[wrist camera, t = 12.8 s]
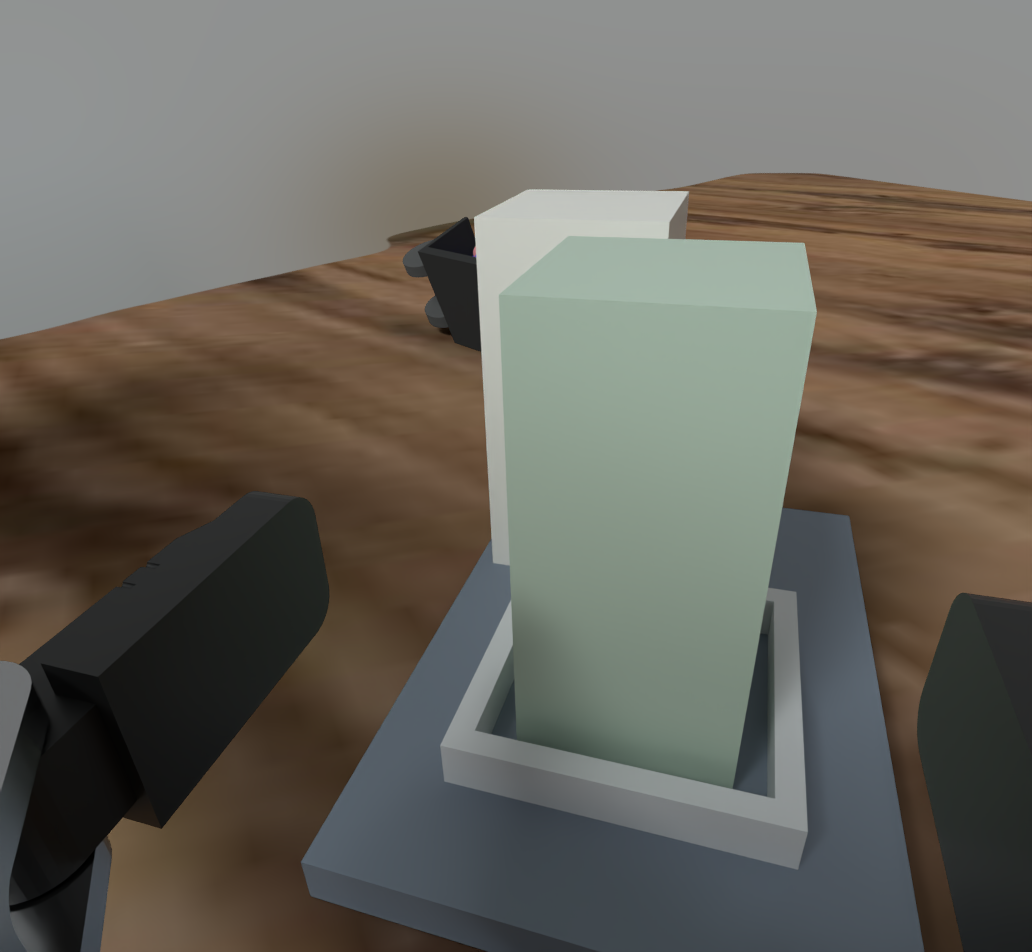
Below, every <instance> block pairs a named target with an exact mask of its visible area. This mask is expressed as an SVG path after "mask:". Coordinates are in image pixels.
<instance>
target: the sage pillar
mask: <svg viewBox="0 0 1032 952" xmlns="http://www.w3.org/2000/svg"><path fill="white" fill-rule="evenodd" d="M499 313H500V337H501V362H502V387H503V411H504V436H505V461H506V485H507V510H508V535H509V559H510V584H511V608H512V633H513V658H514V682H515V707H516V732H517V740H518V741H523V742H527V743H532V744H536V745H540V746H545V747H549V748H554V749H558V750H562V751H567V752H571V753H576V754H580V755H584V756H589V757H593V758H598V759H602V760H606V761H611V762H615V763H620V764H624V765H629V766H633V767H637V768H642V769H646V770H651V771H655V772H659V773H664V774H668V775H673V776H677V777H681V778H686V779H690V780H695V781H699V782H703V783H708V784H712V785H717V786H721V787H726V788H730V789H733V784H734V778H735V772H736V767H737V761H738V755H739V750H740V744H741V738H742V733H743V727H744V721H745V716H746V710H747V704H748V699H749V693H750V687H751V682H752V676H753V670H754V665H755V659H756V653H757V648H758V642H759V636H760V631H761V625H762V619H763V614H764V608H765V602H766V597H767V591H768V585H769V580H770V574H771V568H772V563H773V557H774V551H775V546H776V540H777V534H778V529H779V523H780V517H781V512H782V506H783V500H784V495H785V489H786V483H787V478H788V472H789V466H790V461H791V455H792V449H793V444H794V438H795V432H796V427H797V421H798V415H799V410H800V404H801V398H802V393H803V387H804V381H805V376H806V370H807V364H808V359H809V353H810V347H811V342H812V336H813V330H814V325H815V319H816V313H817V310H816V305H815V299H814V294H813V288H812V283H811V277H810V272H809V266H808V260H807V255H806V249H805V244H804V243H787V242H754V241H721V240H688V239H655V238H622V237H589V236H568V237H566V238H565V239H564V240H563V241H562V242H561V243H559V244H558V245H557V246H556V247H555V248H553V249H552V250H551V251H550V252H549V253H548V254H546V255H545V256H544V257H543V258H542V259H540V260H539V261H538V262H537V263H536V264H534V265H533V266H532V267H531V268H530V269H529V270H527V271H526V272H525V273H524V274H523V275H521V276H520V277H519V278H518V279H517V280H516V281H514V282H513V283H512V284H511V285H510V286H508V287H507V288H506V289H505V290H504V291H502V292H501V293H500V294H499Z"/></svg>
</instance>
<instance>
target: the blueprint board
mask: <svg viewBox="0 0 1032 952" xmlns="http://www.w3.org/2000/svg"><path fill="white" fill-rule="evenodd" d="M301 864H302V868H303V871H304V875H305V878H306V882H307V886H308V889H309V893H310V896H312V897H315V898H318V899H321V900H325V901H328V902H331V903H334V904H337V905H341V906H344V907H347V908H350V909H353V910H357V911H360V912H363V913H366V914H369V915H373V916H376V917H379V918H382V919H385V920H389V921H392V922H395V923H398V924H401V925H405V926H408V927H411V928H414V929H417V930H421V931H424V932H427V933H430V934H433V935H437V936H440V937H443V938H446V939H449V940H453V941H456V942H459V943H462V944H465V945H468V946H472V947H475V948H478V949H481V950H484V951H488V952H924V947H923V941H922V935H921V929H920V924H919V918H918V912H917V906H916V900H915V895H914V889H913V883H912V877H911V872H910V866H909V860H908V854H907V848H906V843H905V837H904V831H903V825H902V819H901V814H900V808H899V802H898V796H897V791H896V785H895V779H894V773H893V767H892V762H891V756H890V750H889V744H888V738H887V733H886V727H885V721H884V715H883V710H882V704H881V698H880V692H879V686H878V681H877V675H876V669H875V663H874V657H873V652H872V646H871V640H870V634H869V629H868V623H867V617H866V611H865V605H864V600H863V594H862V588H861V582H860V576H859V571H858V565H857V559H856V553H855V548H854V542H853V536H852V530H851V524H850V519H849V516H846V515H837V514H829V513H821V512H813V511H805V510H797V509H789V508H782V512H781V517H780V523H779V529H778V534H777V540H776V546H775V551H774V557H773V563H772V568H771V574H770V580H769V585H768V591H767V597H766V602H765V608H764V614H763V619H762V625H761V631H760V636H759V642H758V648H757V653H756V659H755V665H754V670H753V676H752V682H751V687H750V693H749V699H748V704H747V710H746V716H745V721H744V727H743V733H742V738H741V744H740V750H739V755H738V761H737V767H736V772H735V778H734V784H733V789H730V788H726V787H721V786H717V785H712V784H708V783H703V782H699V781H695V780H690V779H686V778H681V777H677V776H673V775H668V774H664V773H659V772H655V771H651V770H646V769H642V768H637V767H633V766H629V765H624V764H620V763H615V762H611V761H606V760H602V759H598V758H593V757H589V756H584V755H580V754H576V753H571V752H567V751H562V750H558V749H554V748H549V747H545V746H540V745H536V744H532V743H527V742H523V741H518V740H517V732H516V707H515V682H514V658H513V633H512V608H511V584H510V566H509V565H503V564H497V563H493V554H492V538H491V540H490V542H489V544H488V545H487V547H486V549H485V550H484V552H483V554H482V555H481V557H480V559H479V561H478V562H477V564H476V566H475V567H474V569H473V571H472V572H471V574H470V576H469V578H468V579H467V581H466V583H465V584H464V586H463V588H462V589H461V591H460V593H459V595H458V596H457V598H456V600H455V601H454V603H453V605H452V606H451V608H450V610H449V612H448V613H447V615H446V617H445V618H444V620H443V622H442V623H441V625H440V627H439V628H438V630H437V632H436V634H435V635H434V637H433V639H432V640H431V642H430V644H429V645H428V647H427V649H426V651H425V652H424V654H423V656H422V657H421V659H420V661H419V662H418V664H417V666H416V668H415V669H414V671H413V673H412V674H411V676H410V678H409V679H408V681H407V683H406V685H405V686H404V688H403V690H402V691H401V693H400V695H399V696H398V698H397V700H396V701H395V703H394V705H393V707H392V708H391V710H390V712H389V713H388V715H387V717H386V718H385V720H384V722H383V724H382V725H381V727H380V729H379V730H378V732H377V734H376V735H375V737H374V739H373V741H372V742H371V744H370V746H369V747H368V749H367V751H366V752H365V754H364V756H363V758H362V759H361V761H360V763H359V764H358V766H357V768H356V769H355V771H354V773H353V775H352V776H351V778H350V780H349V781H348V783H347V785H346V786H345V788H344V790H343V791H342V793H341V795H340V797H339V798H338V800H337V802H336V803H335V805H334V807H333V808H332V810H331V812H330V814H329V815H328V817H327V819H326V820H325V822H324V824H323V825H322V827H321V829H320V831H319V832H318V834H317V836H316V837H315V839H314V841H313V842H312V844H311V846H310V848H309V849H308V851H307V853H306V854H305V856H304V858H303V859H302V861H301Z"/></svg>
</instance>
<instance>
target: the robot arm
mask: <svg viewBox="0 0 1032 952" xmlns="http://www.w3.org/2000/svg"><path fill="white" fill-rule="evenodd" d="M328 604H329V584H328V579H327V574H326V569H325V564H324V559H323V553H322V548H321V543H320V538H319V533H318V527H317V522H316V517H315V513H314V509H313V507H312V505H311V504H310V502H309V501H308V500H307V499H305V498H301V497H294V496H287V495H280V494H273V493H266V492H259V491H253V492H250V493H247V494H246V495H244V496H243V497H242V498H241V499H239V500H238V501H237V502H236V503H234V504H233V505H232V506H231V507H230V508H228V509H227V510H226V511H225V512H224V513H222V514H221V515H220V516H219V517H217V518H216V519H215V520H214V521H212V522H210V523H208V524H206V525H204V526H201V527H199V528H197V529H195V530H193V531H191V532H189V533H187V534H185V535H183V536H181V537H179V538H177V539H175V540H174V541H173V542H171V543H170V544H169V545H168V546H166V547H165V548H164V549H163V550H161V551H160V552H159V553H158V554H156V555H155V556H154V557H153V558H151V559H150V560H149V561H148V562H147V566H146V567H140V568H139V569H138V570H136V571H135V572H134V573H133V574H131V575H130V576H129V577H128V578H126V579H125V580H124V581H123V585H122V587H115V588H114V589H113V590H111V591H110V592H109V593H108V594H107V595H105V596H104V597H103V598H102V599H100V600H99V601H98V602H97V603H95V604H94V605H93V606H92V607H90V608H89V609H88V610H87V611H85V612H84V613H83V614H82V615H80V616H79V617H78V618H77V619H75V620H74V621H73V622H72V623H70V624H69V625H68V626H67V627H65V628H64V629H63V630H62V631H60V632H59V633H58V634H57V635H55V636H54V637H53V638H52V639H50V640H49V641H48V642H47V643H45V644H44V645H43V646H42V647H40V648H39V649H38V650H37V651H35V652H34V653H33V654H32V655H30V656H29V657H28V658H27V659H25V660H24V661H23V662H21V663H20V664H19V665H18V664H16V663H12V662H7V661H0V952H100V947H101V939H102V931H103V923H104V915H105V907H106V899H107V891H108V883H109V875H110V867H111V859H112V848H111V844H110V841H109V839H108V837H107V835H108V834H109V833H110V831H111V830H112V829H113V828H114V827H115V826H116V824H117V823H118V822H119V821H120V820H121V819H122V817H124V818H127V819H130V820H134V821H137V822H141V823H144V824H147V825H151V826H154V827H157V828H161V829H162V828H163V826H164V825H165V824H166V822H167V821H168V820H169V819H170V817H171V816H172V815H173V814H174V812H175V811H176V810H177V809H178V807H179V806H180V805H181V804H182V802H183V801H184V800H185V799H186V797H187V796H188V795H189V793H190V792H191V791H192V790H193V788H194V787H195V786H196V785H197V783H198V782H199V781H200V780H201V778H202V777H203V776H204V775H205V773H206V772H207V771H208V770H209V768H210V767H211V766H212V764H213V763H214V762H215V761H216V759H217V758H218V757H219V756H220V754H221V753H222V752H223V751H224V749H225V748H226V747H227V746H228V744H229V743H230V742H231V741H232V739H233V738H234V737H235V735H236V734H237V733H238V732H239V730H240V729H241V728H242V727H243V725H244V724H245V723H246V722H247V720H248V719H249V718H250V717H251V715H252V714H253V713H254V712H255V710H256V709H257V708H258V706H259V705H260V704H261V703H262V701H263V700H264V699H265V698H266V696H267V695H268V694H269V693H270V691H271V690H272V689H273V688H274V686H275V685H276V684H277V682H278V681H279V680H280V679H281V677H282V676H283V675H284V674H285V672H286V671H287V670H288V669H289V667H290V666H291V665H292V664H293V662H294V661H295V660H296V659H297V657H298V656H299V655H300V653H301V652H302V651H303V650H304V648H305V647H306V646H307V645H308V643H309V642H310V641H311V640H312V638H313V637H314V636H315V635H316V633H317V632H318V630H319V629H320V627H321V625H322V623H323V621H324V619H325V616H326V613H327V609H328ZM917 735H918V747H919V753H920V757H921V762H922V766H923V771H924V775H925V780H926V784H927V789H928V793H929V798H930V802H931V807H932V811H933V816H934V820H935V825H936V829H937V834H938V838H939V843H940V847H941V852H942V856H943V861H944V865H945V870H946V874H947V879H948V883H949V888H950V892H951V897H952V901H953V906H954V910H955V915H956V919H957V924H958V928H959V933H960V937H961V941H962V946H963V950H964V952H1032V602H1025V601H1018V600H1010V599H1003V598H996V597H989V596H982V595H975V594H968V593H961V594H959V595H958V596H957V597H956V598H955V600H954V601H953V603H952V605H951V608H950V611H949V614H948V617H947V620H946V623H945V626H944V629H943V632H942V635H941V638H940V641H939V644H938V646H937V649H936V652H935V655H934V658H933V661H932V664H931V667H930V670H929V673H928V676H927V679H926V682H925V685H924V688H923V691H922V695H921V699H920V704H919V710H918V723H917Z"/></svg>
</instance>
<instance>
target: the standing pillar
mask: <svg viewBox="0 0 1032 952" xmlns="http://www.w3.org/2000/svg"><path fill="white" fill-rule="evenodd" d="M688 198H689V192H685V191H605V190H603V191H601V190H526V191H525V192H522V193H520V194H518V195H517V196H515V197H513V198H511V199H509V200H507V201H505V202H503V203H501V204H499V205H497V206H495V207H493V208H491V209H489V210H487V211H486V212H484V213H482V214H480V215H478V216H476V217H474V223H475V242H476V260H477V278H478V297H479V315H480V334H481V352H482V370H483V389H484V407H485V425H486V444H487V462H488V481H489V499H490V517H491V536H492V554H493V563H497V564H503V565H509V566H510V559H509V535H508V510H507V485H506V461H505V436H504V411H503V387H502V362H501V337H500V313H499V294H500V293H501V292H502V291H504V290H505V289H506V288H507V287H508V286H510V285H511V284H512V283H513V282H514V281H516V280H517V279H518V278H519V277H520V276H521V275H523V274H524V273H525V272H526V271H527V270H529V269H530V268H531V267H532V266H533V265H534V264H536V263H537V262H538V261H539V260H540V259H542V258H543V257H544V256H545V255H546V254H548V253H549V252H550V251H551V250H552V249H553V248H555V247H556V246H557V245H558V244H559V243H561V242H562V241H563V240H564V239H565V238H566V237H568V236H589V237H622V238H655V239H685V235H686V223H687V211H688Z"/></svg>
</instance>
